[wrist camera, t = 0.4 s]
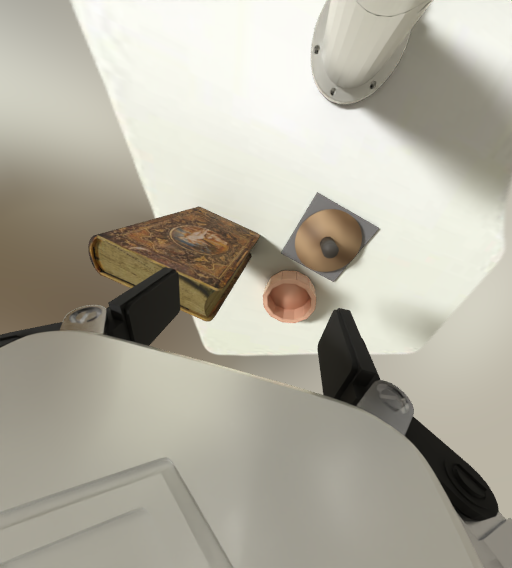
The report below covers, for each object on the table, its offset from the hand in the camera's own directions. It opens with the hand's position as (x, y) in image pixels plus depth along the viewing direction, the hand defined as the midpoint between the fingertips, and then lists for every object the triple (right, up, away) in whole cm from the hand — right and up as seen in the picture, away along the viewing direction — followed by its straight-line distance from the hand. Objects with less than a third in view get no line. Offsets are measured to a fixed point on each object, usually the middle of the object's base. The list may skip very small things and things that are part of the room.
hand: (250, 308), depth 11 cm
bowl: (+9, 0, +37) cm, 38 cm away
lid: (+15, +10, +29) cm, 34 cm away
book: (-7, +14, +33) cm, 36 cm away
